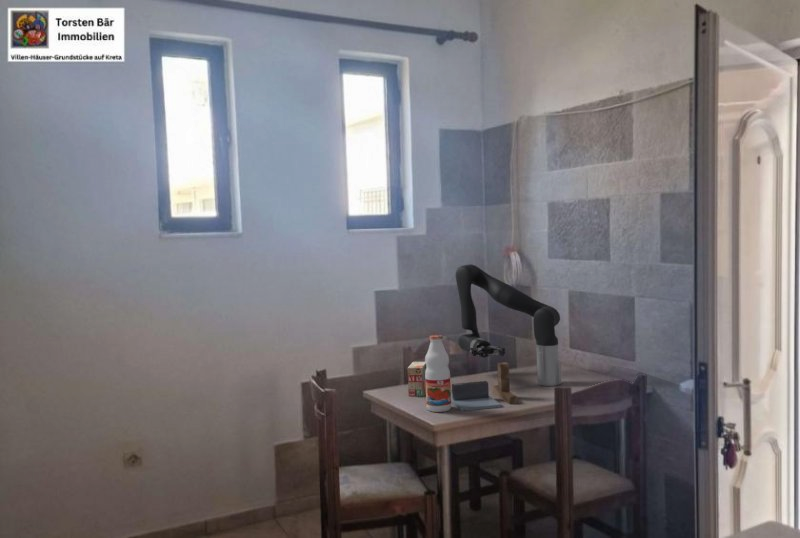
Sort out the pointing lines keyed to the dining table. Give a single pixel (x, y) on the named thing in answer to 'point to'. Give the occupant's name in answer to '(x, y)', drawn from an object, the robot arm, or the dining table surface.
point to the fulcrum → (472, 396)
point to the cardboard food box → (417, 379)
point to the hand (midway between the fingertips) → (493, 354)
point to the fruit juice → (437, 376)
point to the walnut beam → (504, 384)
